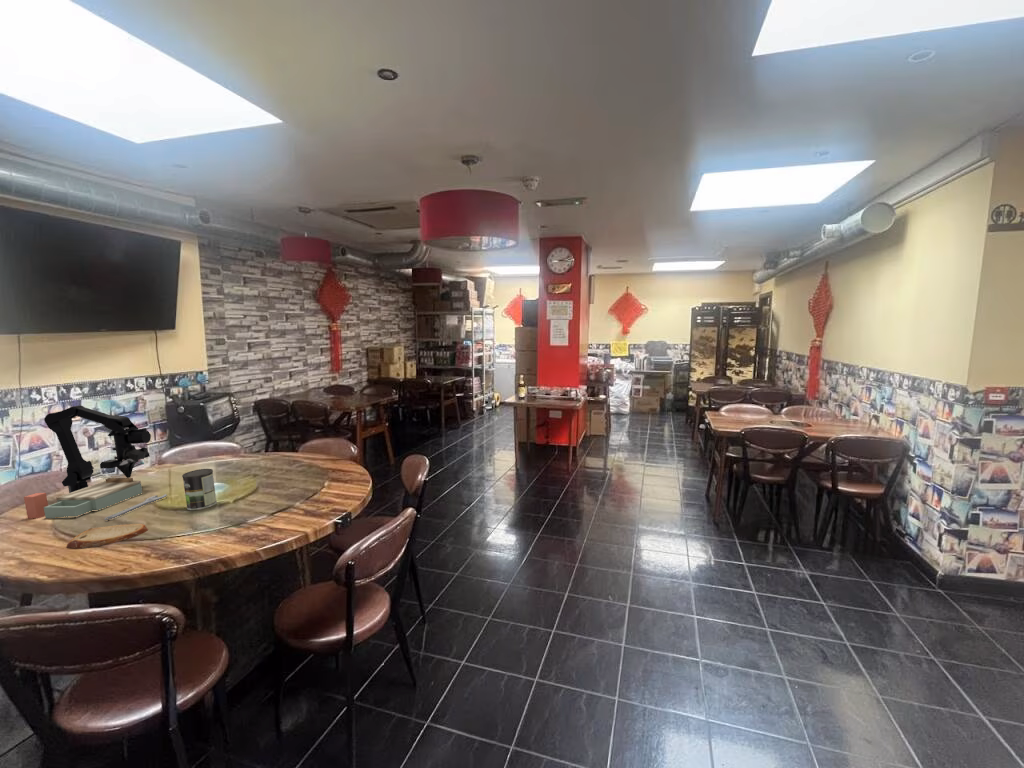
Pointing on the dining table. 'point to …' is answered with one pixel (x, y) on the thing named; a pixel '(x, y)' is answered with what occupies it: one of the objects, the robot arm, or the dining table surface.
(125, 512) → the adjustable wrench
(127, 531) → the bread slice
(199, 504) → the coffee can
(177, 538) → the dining table surface
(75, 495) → the slatted box lid
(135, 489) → the grey-green open box
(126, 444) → the robot arm
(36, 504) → the red rectangular block
